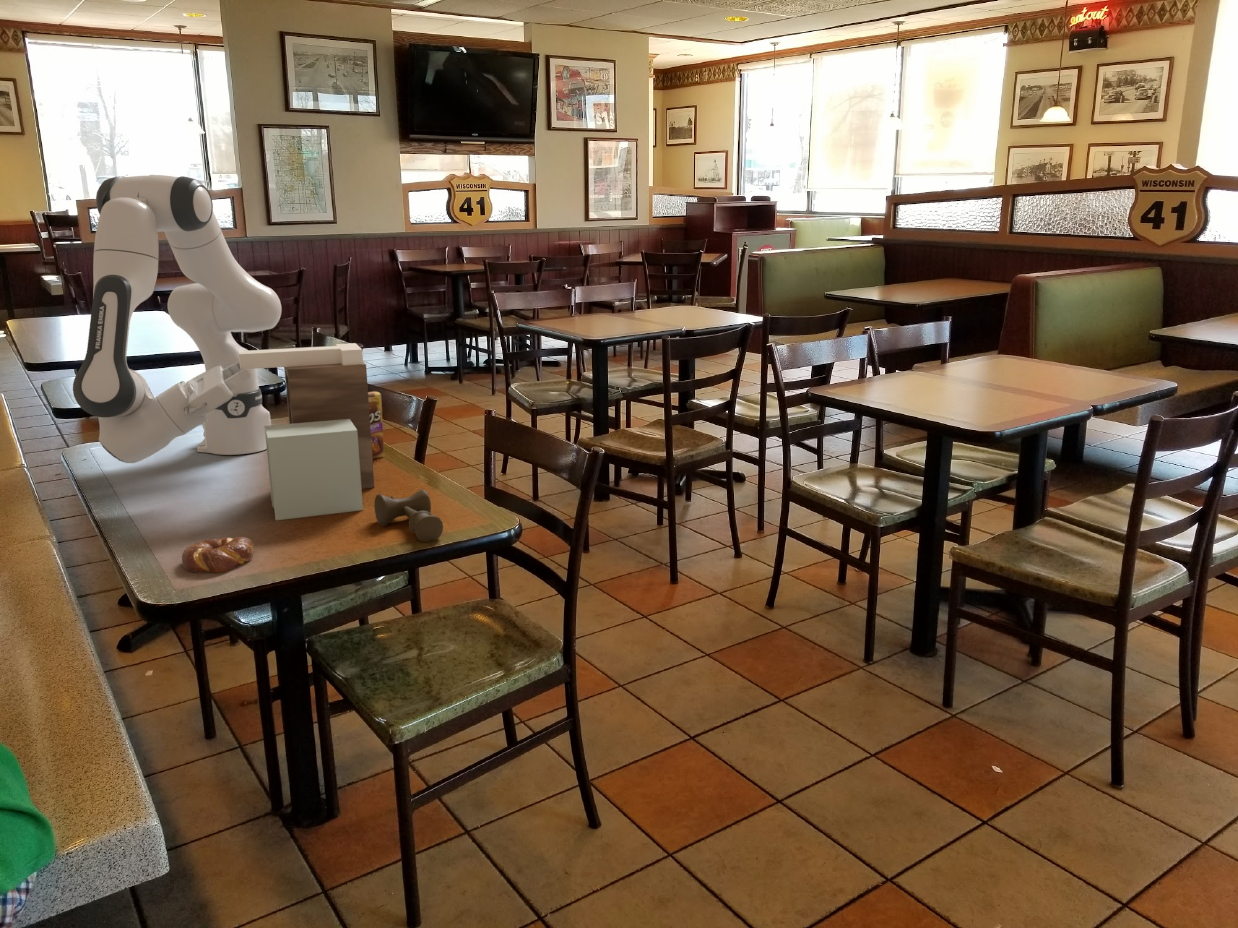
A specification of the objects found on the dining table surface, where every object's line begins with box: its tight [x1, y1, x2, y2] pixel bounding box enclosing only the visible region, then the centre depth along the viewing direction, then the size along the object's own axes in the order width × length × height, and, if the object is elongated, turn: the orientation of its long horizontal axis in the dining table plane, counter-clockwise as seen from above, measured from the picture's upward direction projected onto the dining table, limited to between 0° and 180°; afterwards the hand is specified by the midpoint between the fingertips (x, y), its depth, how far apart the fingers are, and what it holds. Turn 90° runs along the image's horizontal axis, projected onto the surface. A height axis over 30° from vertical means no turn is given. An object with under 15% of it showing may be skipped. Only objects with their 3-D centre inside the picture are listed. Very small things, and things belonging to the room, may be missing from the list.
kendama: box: [373, 489, 444, 543], centre depth 174 cm, size 6×10×20 cm
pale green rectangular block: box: [264, 419, 364, 521], centre depth 182 cm, size 10×16×16 cm, turn 113°
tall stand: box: [283, 361, 375, 490], centre depth 195 cm, size 10×15×26 cm, turn 113°
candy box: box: [368, 390, 385, 459], centre depth 217 cm, size 9×4×15 cm, turn 123°
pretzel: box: [181, 536, 255, 574], centre depth 157 cm, size 12×11×4 cm
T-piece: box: [238, 342, 364, 370], centre depth 189 cm, size 9×23×3 cm, turn 113°
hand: (247, 366), depth 186 cm, fingers open, 8 cm apart
